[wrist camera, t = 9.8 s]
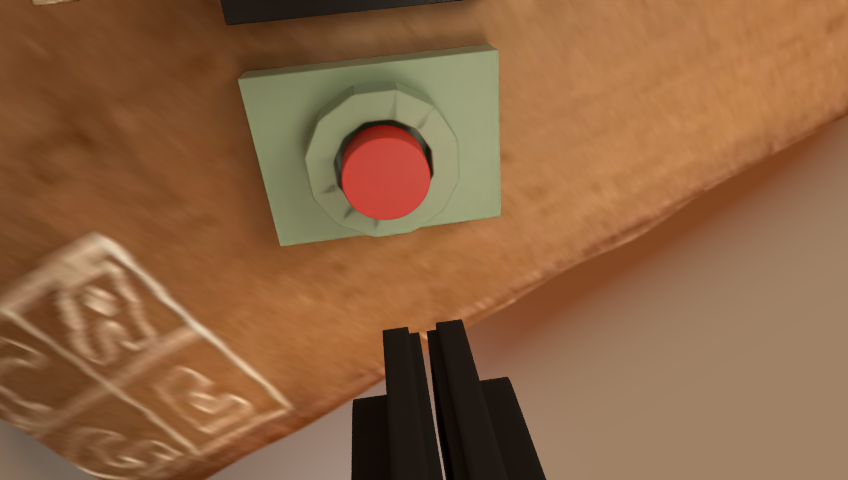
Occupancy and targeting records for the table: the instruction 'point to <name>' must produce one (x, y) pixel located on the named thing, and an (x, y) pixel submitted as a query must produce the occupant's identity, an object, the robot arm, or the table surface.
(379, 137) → the button
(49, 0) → the lever
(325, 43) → the table surface
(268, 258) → the table surface
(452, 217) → the button box
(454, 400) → the robot arm
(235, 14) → the bracket
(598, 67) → the table surface
